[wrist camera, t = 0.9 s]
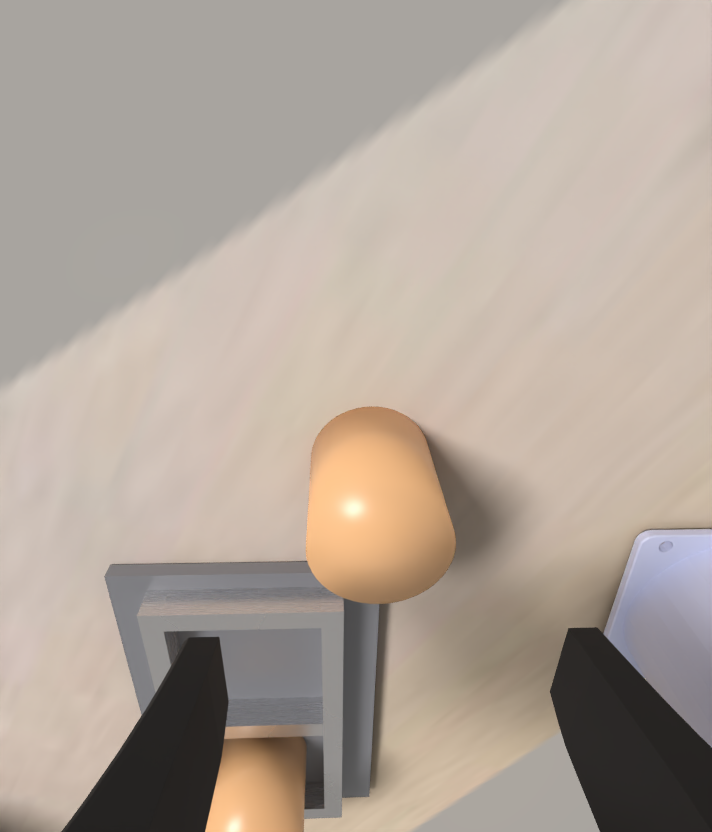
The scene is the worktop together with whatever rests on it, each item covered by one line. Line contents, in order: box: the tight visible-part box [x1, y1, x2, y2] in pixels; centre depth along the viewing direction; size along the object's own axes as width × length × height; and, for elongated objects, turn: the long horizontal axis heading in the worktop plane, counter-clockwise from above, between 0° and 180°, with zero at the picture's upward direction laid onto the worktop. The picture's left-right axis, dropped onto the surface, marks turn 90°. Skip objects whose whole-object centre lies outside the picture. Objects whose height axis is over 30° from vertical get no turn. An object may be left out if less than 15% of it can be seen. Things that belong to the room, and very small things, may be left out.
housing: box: [104, 561, 379, 832], centre depth 21 cm, size 10×15×5 cm, turn 179°
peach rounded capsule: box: [306, 407, 456, 604], centre depth 16 cm, size 4×4×4 cm
